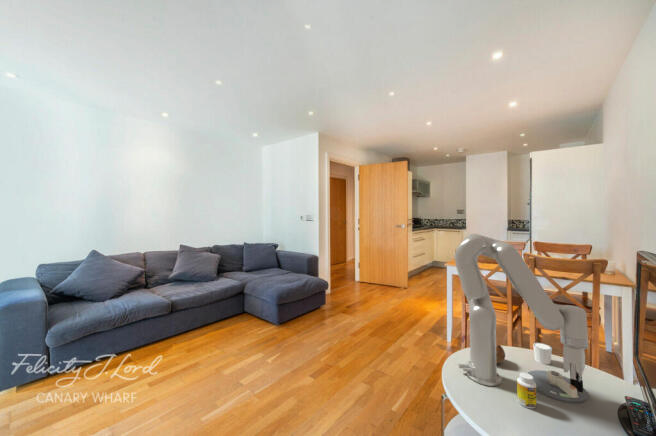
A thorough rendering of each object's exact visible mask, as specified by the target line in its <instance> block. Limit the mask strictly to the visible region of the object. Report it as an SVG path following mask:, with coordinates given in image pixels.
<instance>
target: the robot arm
mask: <svg viewBox="0 0 656 436" xmlns="http://www.w3.org/2000/svg"><path fill="white" fill-rule="evenodd" d="M480 255H481V256H484V257H487V258H491V259H493V260H495V261H496V263H497V265H498V266H499V267H500V269H501V271H502V272H503V273H504V274H505V276H506V278H507V279H508V280H509V282H510V284H511V285H512V286H513V288H514V290H515V291H516V292H517V293H518V294H519V296H520V297H521V298H522V299H523V300H524V302H525V303H526V305H527V307H529V309H530V311H531V312H532V313H533V315H534V317H535V318H536V319H537V321H538V323H539V324H540V325H541V326H542V328H543V327H544V329H546V330H549V331H559V336H560V343H561V344H562V345H563V351H562V352H563V372H564V373H569V379H570V384H571V385H573V386H574V387H575V388H576V389H577V391H578V392H581V393H582V392H583V388H584V382H583V381H584V380H583V374H584V371H585V368H586V354H585V353H586V352H585V350H587V349H589V337H588V336H589V335H588V334H589V331H588V320H587V318H588V317H587V311H586V310H585V309H584V308H583V307H580V306H576V305H570V304H565V305H563V304H557V303H554V301H553V300H552V299H551V297H550V295H548V293H547V292H546V290H545V289H544V287H543V286H542V284H541V282H540V281H539V279H538V278H537V277H536V275H535V274H534V273H533V271H532V270H531V268H530V266H529V265H528V264H527V263H526V261H525V259H523V257H522V255H521V254H520V252H519V251H518V250H517V248H516V247H515V246H513V245H512V244H510V243H509V242H507V241H501V240H498V239H494V238H491V237H488V236H484V235H481V234H477V233H470V234H468V235H466V236H465V237H464V239H463V240H462V241H461V243H459V245H458V246H457V248H456V250H455V253H454V263H455V266H456V267H455V268H456V269H457V274H458V277H459V281H460V285H461V290H462V292H463V293H464V295H465V298H466V301H467V303H468V307H469V308H468V309H469V313H468V314H469V315H468V317H469V320H468V321H469V352H470V353H469V355H470V360H469V361H468V362H466V363H459V362H458V364H457V365H458V368H459V369H462V372H466V375H467V376H468V377H469V379H471V380H472V381H473V382H475V383H477V384H480V385H484V386H489V387H495V386H499V385H501V383H502V378H501V374H499V373H498V372H497V364H496V343H497V314H496V310H495V308H494V305H493V302H492V299H491V295H490V292H489V289H488V287H487V284H486V280H485V279H484V277H483V276H482V273H481V271H480V266H479V263H478V258H479V256H480Z"/></svg>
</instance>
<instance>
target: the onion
mask: <svg viewBox="0 0 656 436" xmlns="http://www.w3.org/2000/svg"><path fill="white" fill-rule="evenodd" d="M505 359H506V352H505V350H504V348H503V347H502V346H501V345H500V344H499V343H497V342H496V364H501V363H502V362H504V360H505Z"/></svg>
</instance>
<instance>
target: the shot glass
mask: <svg viewBox="0 0 656 436" xmlns="http://www.w3.org/2000/svg"><path fill="white" fill-rule="evenodd" d="M532 347H533V354H534V360H535V362H537V363H539V364H542V365H551V363H552V362H551V361H552V351H553V347H552V346H551V345H548V344H546V343H541V342H534V343H532Z"/></svg>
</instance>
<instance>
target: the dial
mask: <svg viewBox="0 0 656 436" xmlns="http://www.w3.org/2000/svg"><path fill="white" fill-rule="evenodd" d="M547 371H548V370H547ZM547 371H546V370H541V369H540V370H539V369H538V370H530V371H529V372H527V374H530V375H532V376H533V380H534V382H535V383H536V392H538V393H540V394H542V395H544V396H546V397H548V398H551V399H553V400H556V401H560V402H565V403H571V404H582V403H584V402H586V401H587V400H588V392H587V390H586V389H585V387H583V392H582V393H581V392H578V391H577V398H572V397H570V396H569V395H568V394H567V393H565V392H564V391H563V390H562V389H560V388H559V387H556V386H553V385H551V384H549V383H548V382H547ZM563 379H564V380H565V381H566V382H568V383H569V384H570V377H566V376H565V375H563ZM570 385H571V384H570Z"/></svg>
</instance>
